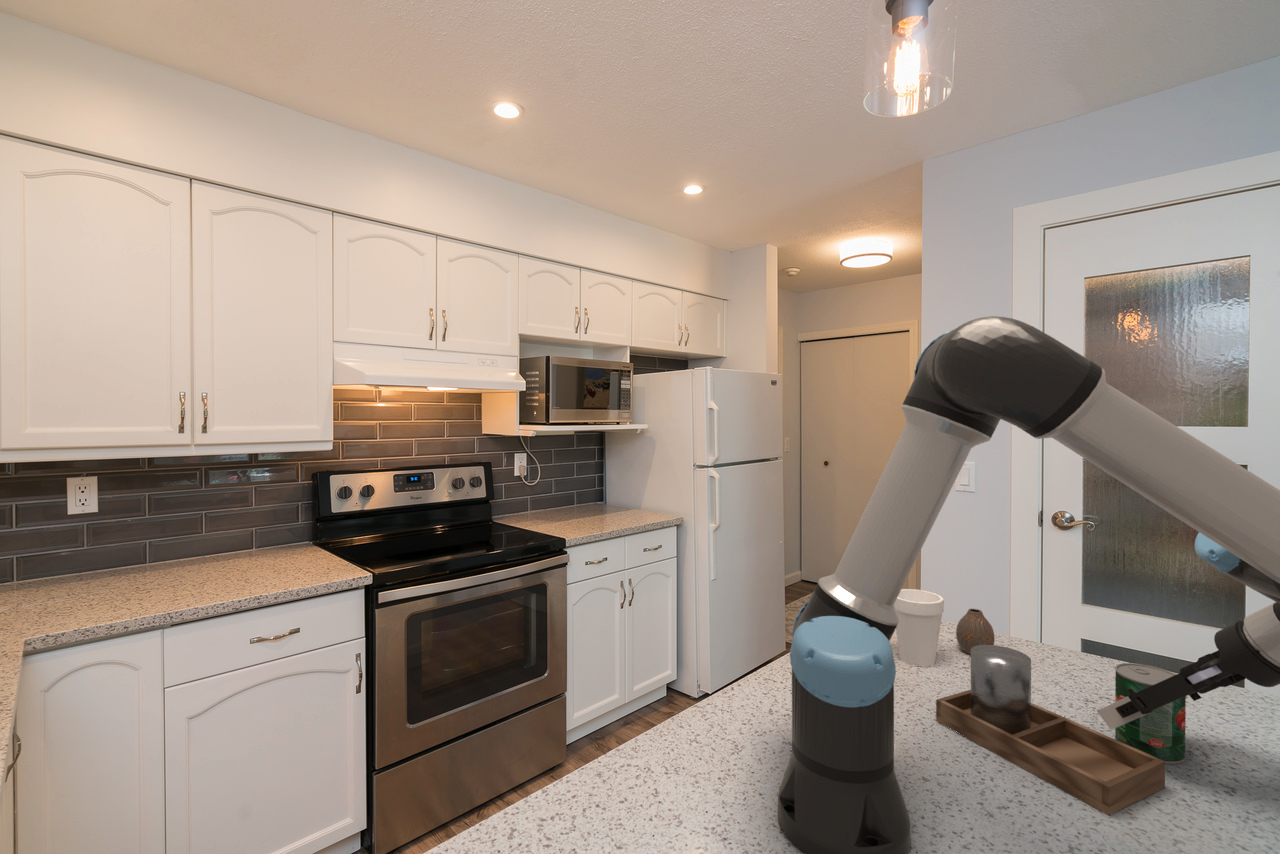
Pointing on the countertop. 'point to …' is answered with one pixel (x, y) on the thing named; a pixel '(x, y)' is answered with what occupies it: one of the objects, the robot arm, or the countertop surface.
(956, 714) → the wooden divided tray
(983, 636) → the vase
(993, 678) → the seated cylinder
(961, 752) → the countertop surface
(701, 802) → the countertop surface
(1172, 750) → the canned tomato
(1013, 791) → the countertop surface
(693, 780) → the countertop surface
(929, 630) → the foam cup
